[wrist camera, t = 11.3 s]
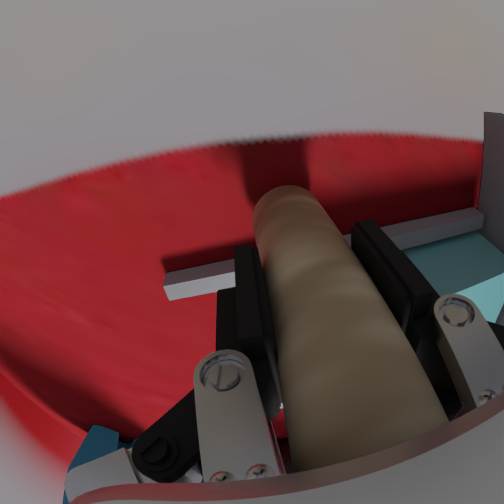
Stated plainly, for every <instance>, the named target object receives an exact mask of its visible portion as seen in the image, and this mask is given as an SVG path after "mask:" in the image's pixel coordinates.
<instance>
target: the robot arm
mask: <svg viewBox="0 0 504 504" xmlns="http://www.w3.org/2000/svg"><path fill="white" fill-rule="evenodd" d="M351 249H352V250H353V252H354V253H355V255H356V256H357V258H358V259H359V261H360V262H361V264H362V265H363V267H364V268H365V270H366V272H367V273H368V275H369V276H370V278H371V279H372V281H373V283H374V284H375V286H376V287H377V289H378V291H379V292H380V294H381V295H382V297H383V299H384V300H385V302H386V304H387V305H388V307H389V309H390V310H391V312H392V314H393V315H394V317H395V319H396V320H397V322H398V324H399V326H400V327H401V329H402V331H403V333H404V334H405V336H406V338H407V340H408V341H409V343H410V345H411V347H412V349H413V350H414V352H415V354H416V356H417V358H418V360H419V362H420V363H421V365H422V367H423V369H424V371H425V373H426V375H427V377H428V379H429V381H430V383H431V385H432V387H433V389H434V391H435V393H436V395H437V397H438V399H439V401H440V403H441V405H442V407H443V409H444V411H445V414H446V416H447V418H448V420H449V423H447V424H445V425H443V426H441V427H439V428H436V429H434V430H432V431H430V432H428V433H425V434H423V435H421V436H418V437H416V438H413V439H411V440H409V441H406V442H403V443H401V444H398V445H396V446H393V447H390V448H387V449H384V450H382V451H379V452H376V453H372V454H369V455H366V456H363V457H360V458H356V459H353V460H349V461H346V462H342V463H338V464H334V465H330V466H326V467H322V468H317V469H312V470H308V471H303V472H297V473H292V474H286V472H285V468H284V465H283V461H282V458H281V454H280V450H279V447H278V443H277V440H276V436H275V432H274V429H273V425H272V420H273V418H274V417H275V416H276V415H277V414H278V413H279V412H280V407H281V402H280V397H281V391H280V385H279V379H278V372H277V361H278V355H277V349H276V344H275V338H274V332H273V326H272V321H271V315H270V309H269V304H268V298H267V292H266V287H265V281H264V275H263V270H262V265H261V260H260V256H259V251H258V247H253V248H251V244H245V245H241V246H236V247H234V265H235V287H231V288H226V289H221V290H218V292H217V317H216V352H213V353H211V354H209V355H208V356H206V357H204V358H203V359H202V360H201V361H200V362H199V364H198V365H197V367H196V369H195V371H194V378H193V379H194V389H193V390H192V391H190V392H189V393H188V394H187V395H186V396H185V397H184V398H183V399H182V400H180V401H179V402H178V403H177V404H176V405H175V406H174V407H173V408H171V409H170V410H169V411H168V412H167V413H166V414H164V415H163V416H162V417H161V418H160V419H159V420H158V421H156V422H155V423H154V424H153V425H152V426H151V427H149V428H148V429H147V430H146V431H145V432H143V433H142V434H141V435H140V436H139V437H138V438H137V440H136V441H135V443H134V445H133V447H132V448H130V449H128V450H127V449H125V448H121V449H119V450H117V451H114V452H112V453H110V454H107V455H105V456H103V457H100V458H98V459H95V460H93V461H90V462H88V463H85V464H82V465H80V466H77V467H75V468H73V469H72V470H70V471H69V473H68V474H67V475H66V478H65V482H64V484H65V492H66V495H67V499H68V502H69V504H504V326H503V325H499V324H496V323H493V322H489V321H486V319H485V318H484V316H483V315H482V313H481V312H480V310H479V308H478V307H477V306H476V304H475V303H474V302H473V301H472V300H470V299H469V298H467V297H465V296H463V295H459V294H446V295H444V296H441V297H440V296H439V294H438V293H437V292H436V291H435V289H434V288H433V287H432V286H431V284H430V283H429V282H428V281H427V279H426V278H425V277H424V276H423V274H422V273H421V272H420V271H419V269H418V268H417V267H416V266H415V265H414V264H413V262H412V261H411V260H410V259H409V258H408V256H407V255H406V254H405V253H404V252H402V251H400V249H399V248H398V247H397V246H396V245H395V244H394V243H393V241H392V240H391V239H390V238H389V237H388V236H387V235H386V234H385V232H384V231H383V230H382V229H381V228H380V227H379V226H378V225H377V224H376V223H375V222H374V220H372V219H370V220H365V221H360V222H356V224H355V227H352V228H351Z"/></svg>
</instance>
